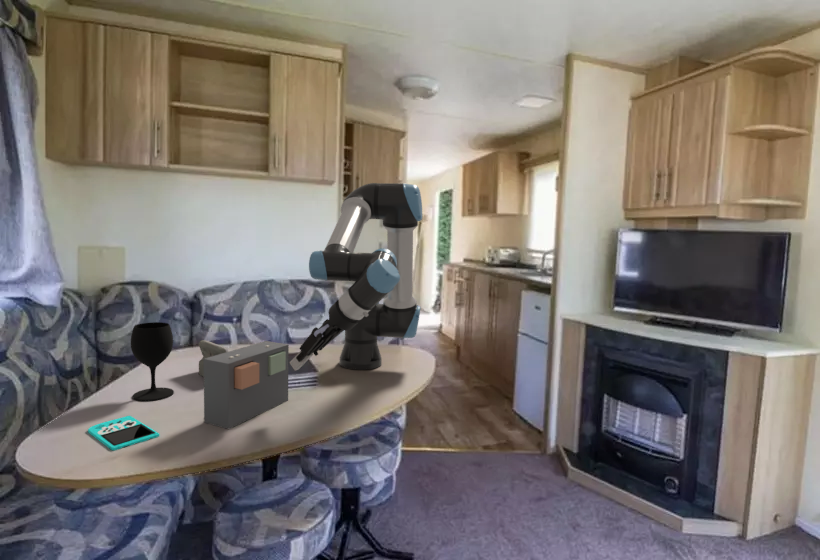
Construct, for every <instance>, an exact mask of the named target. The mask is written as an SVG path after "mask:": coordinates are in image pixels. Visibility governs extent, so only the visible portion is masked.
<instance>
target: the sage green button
mask: <svg viewBox="0 0 820 560" xmlns="http://www.w3.org/2000/svg"><path fill="white" fill-rule="evenodd" d="M283 370H286V352H284V351H280V352H277V353H274V354H271V355H268V375H273V374H275V373H278V372H281V371H283Z"/></svg>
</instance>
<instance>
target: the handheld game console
mask: <svg viewBox="0 0 820 560" xmlns="http://www.w3.org/2000/svg"><path fill="white" fill-rule="evenodd" d="M87 432H88V434H90V436H92V437H94V438H95V439H96V440H98V441H99V442H100V443H101V444H103V445H104V446H105V447H107V448H108V449H109V450H111V451H117V450H121V449H123V448H128V447H130V446H133V445H135V444H137V443H138V444H140V443H143V442H146V441H149V440H150V439H151V440H152V439H155V438H159V437H160V433H159V432H157V431H156V430H154V429H153V428H152V427H149V426H148V425H146V424H145V423H143V422H141V421H140V420H138V419H136V418H135V417H133V416H132V415H126V416H122V417H119V418H115V419H111V420H108V421H104V422H100V423H97V424H95V425H92V426H90V427H89V428H87Z"/></svg>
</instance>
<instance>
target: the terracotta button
mask: <svg viewBox="0 0 820 560" xmlns="http://www.w3.org/2000/svg"><path fill="white" fill-rule="evenodd" d="M257 383H259V363H256V362H250V363H247V364H244V365H241V366H238V367H235V368H234V388H237V389H241V390H242V389H245V388H247V387H250V386H252V385H255V384H257Z"/></svg>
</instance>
